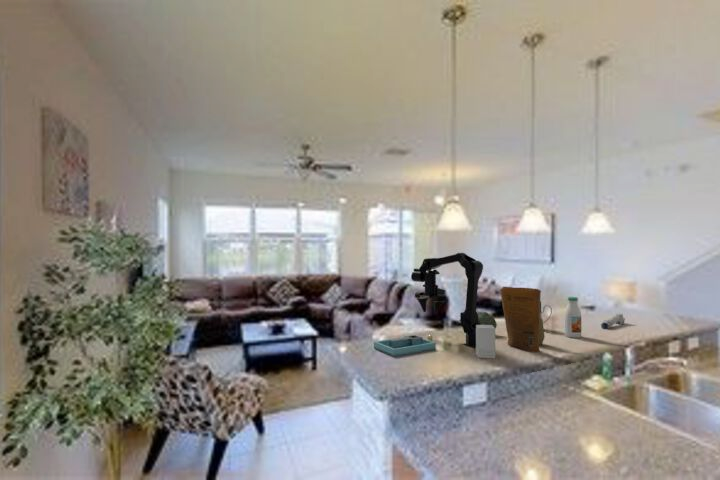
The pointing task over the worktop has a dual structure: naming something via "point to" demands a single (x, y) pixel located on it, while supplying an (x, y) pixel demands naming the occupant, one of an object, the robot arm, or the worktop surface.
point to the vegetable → (486, 319)
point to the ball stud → (430, 338)
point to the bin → (386, 349)
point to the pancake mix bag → (522, 317)
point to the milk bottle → (572, 319)
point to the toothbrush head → (613, 321)
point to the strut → (405, 341)
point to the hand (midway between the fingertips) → (430, 313)
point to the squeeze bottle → (541, 331)
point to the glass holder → (543, 311)
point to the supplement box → (485, 341)
